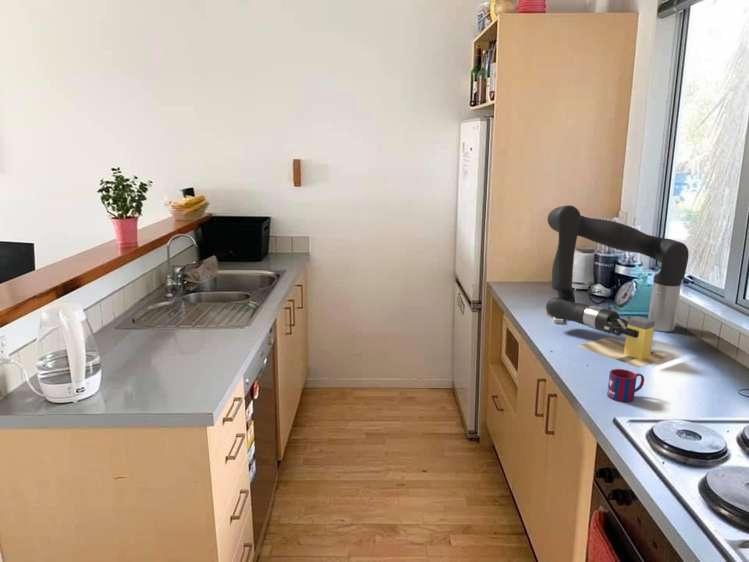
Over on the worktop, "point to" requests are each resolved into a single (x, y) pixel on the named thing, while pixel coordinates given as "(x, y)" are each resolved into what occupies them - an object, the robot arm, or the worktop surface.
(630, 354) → the yellow spice tin
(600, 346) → the plywood panel
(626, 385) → the mug
